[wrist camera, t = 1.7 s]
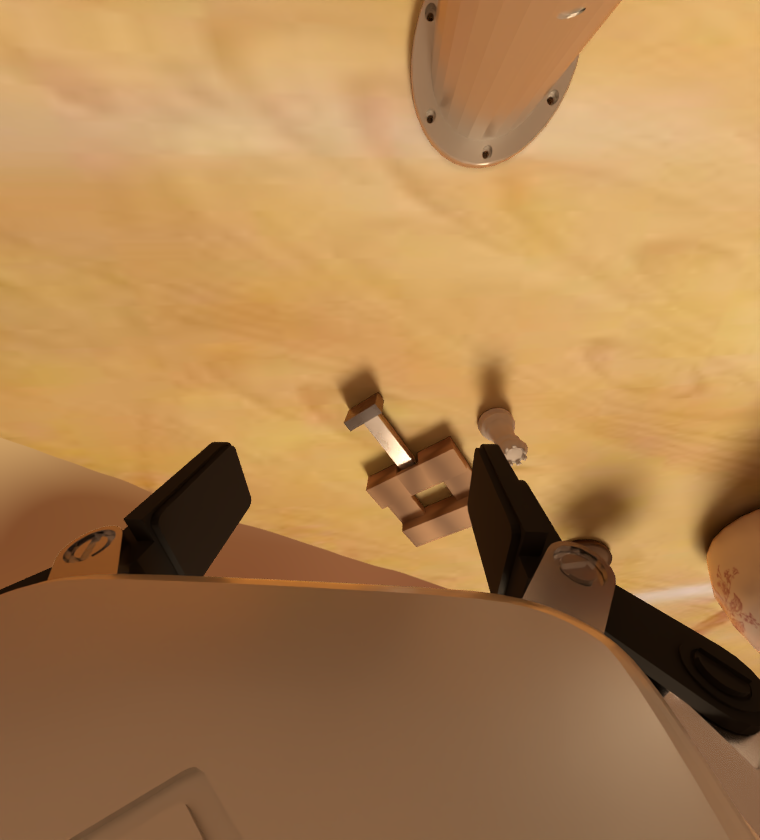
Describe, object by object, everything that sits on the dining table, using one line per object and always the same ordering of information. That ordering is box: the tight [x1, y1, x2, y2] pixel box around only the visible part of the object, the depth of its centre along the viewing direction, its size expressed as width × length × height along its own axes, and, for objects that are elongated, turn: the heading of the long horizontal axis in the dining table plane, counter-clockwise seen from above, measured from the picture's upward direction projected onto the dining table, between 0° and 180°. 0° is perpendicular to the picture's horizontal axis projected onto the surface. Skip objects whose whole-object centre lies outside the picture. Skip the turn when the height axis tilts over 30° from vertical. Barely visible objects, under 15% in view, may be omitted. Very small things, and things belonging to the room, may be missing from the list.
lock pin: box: [344, 392, 416, 471], centre depth 37 cm, size 5×11×4 cm, turn 35°
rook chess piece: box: [478, 408, 528, 466], centre depth 34 cm, size 4×4×8 cm
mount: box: [366, 437, 472, 547], centre depth 42 cm, size 14×14×3 cm
